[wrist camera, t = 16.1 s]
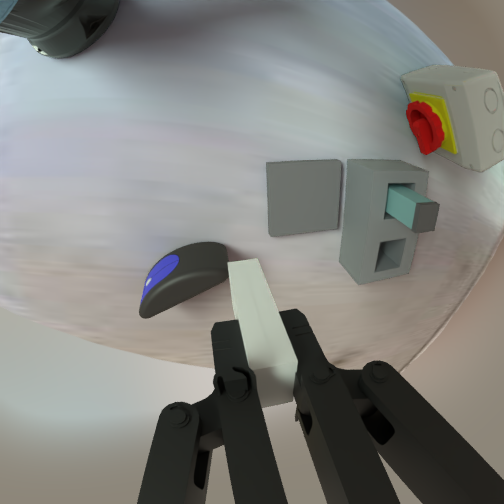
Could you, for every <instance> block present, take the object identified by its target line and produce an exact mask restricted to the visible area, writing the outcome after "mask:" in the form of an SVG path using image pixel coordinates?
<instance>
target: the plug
mask: <svg viewBox="0 0 504 504" xmlns="http://www.w3.org/2000/svg"><path fill="white" fill-rule="evenodd" d="M439 205H440V204H438V203H437V202H433V201H431V200H430V199H428V198H426V197H424V196H422V195H420V194H418V193H417V192H415V191H413V190H411V189H409V188H407V187H405V186H403V185H401V184H399V183H388V190H387V199H386V207H385V211H386V212H387V213H389V214H390V215H391V216H393V217H394V218H396V219H397V220H399V221H400V222H402V223H403V224H404V225H406V226H407V227H409V228H410V229H411V231H413V232H414V233H422V232H429V231H434V230H435V225H436V221H437V216H438V211H439Z"/></svg>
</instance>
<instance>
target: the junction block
mask: <svg viewBox="0 0 504 504" xmlns="http://www.w3.org/2000/svg"><path fill="white" fill-rule="evenodd" d="M428 175H429V171H426V170H424V169H421V168H419V167H416V166H414V165H411V164H409V163H406V162H403V161H401V160H372V159H347V179H346V196H345V209H344V221H343V231H342V241H341V250H340V258H339V262H340V264H341V265H342V266H343V267H344V268H345V270H346V271H347V272H348V273H349V274H350V276H351V277H352V278H353V279H354V281H355V282H356V283H357V284H358V285H361V284H366V283H370V282H374V281H379V280H383V279H388V278H392V277H396V276H400V275H404V274H408V273H409V271H410V267H411V263H412V259H413V255H414V251H415V247H416V243H417V239H418V234H419V233H414V232H413V231H411V229H410V228H409V227H407V226H406V225H404V224H403V223H402V222H400V221H399V220H397V219H396V218H394V217H393V216H391V215H390V214H389V213H387V212H386V211H385V207H386V199H387V190H388V183H399V184H401V185H403V186H405V187H407V188H409V189H411V190H413V191H415V192H417V193H418V194H420V195H422V196H424V197H425V196H426V190H427V183H428Z"/></svg>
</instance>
